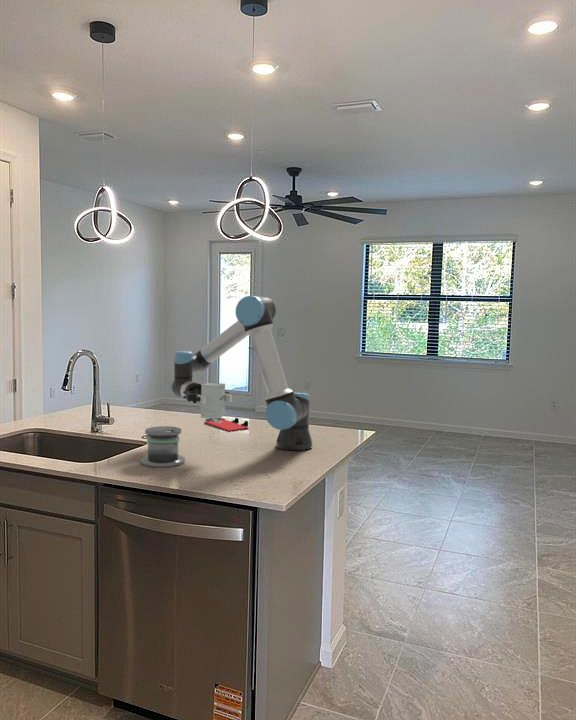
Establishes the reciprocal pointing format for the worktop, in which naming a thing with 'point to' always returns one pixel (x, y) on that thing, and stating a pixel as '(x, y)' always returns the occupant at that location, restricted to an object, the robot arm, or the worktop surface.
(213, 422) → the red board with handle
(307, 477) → the worktop surface
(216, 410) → the supplement box
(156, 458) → the grey round canister
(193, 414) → the worktop surface
